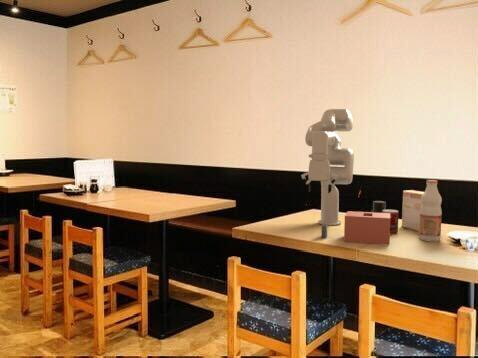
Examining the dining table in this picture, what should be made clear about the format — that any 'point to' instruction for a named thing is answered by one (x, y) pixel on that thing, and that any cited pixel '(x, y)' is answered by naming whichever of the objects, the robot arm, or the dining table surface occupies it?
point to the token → (324, 231)
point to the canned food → (393, 220)
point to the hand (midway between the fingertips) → (318, 192)
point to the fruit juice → (430, 213)
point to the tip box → (367, 227)
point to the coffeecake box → (411, 209)
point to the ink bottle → (378, 206)
